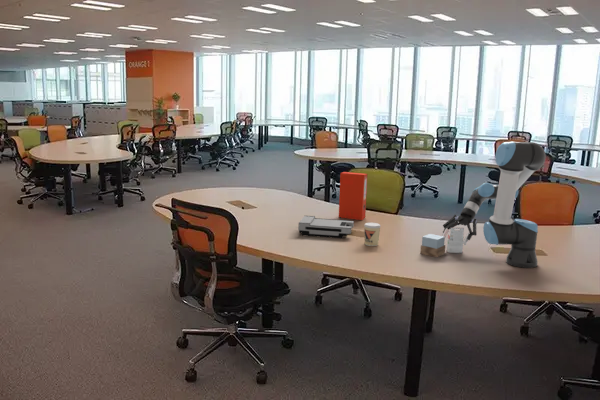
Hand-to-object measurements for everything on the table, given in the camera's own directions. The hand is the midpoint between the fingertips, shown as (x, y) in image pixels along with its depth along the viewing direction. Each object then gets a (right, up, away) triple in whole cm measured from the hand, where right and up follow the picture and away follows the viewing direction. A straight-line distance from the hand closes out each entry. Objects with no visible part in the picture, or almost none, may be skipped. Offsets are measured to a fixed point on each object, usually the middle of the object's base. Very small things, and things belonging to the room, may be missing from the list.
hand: (453, 241), depth 288 cm
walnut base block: (-12, -7, -1) cm, 14 cm away
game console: (-69, +2, +37) cm, 78 cm away
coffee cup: (-43, -3, +15) cm, 46 cm away
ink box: (+2, -7, +3) cm, 7 cm away
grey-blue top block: (-12, -2, -2) cm, 12 cm away
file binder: (-48, +10, +80) cm, 94 cm away
